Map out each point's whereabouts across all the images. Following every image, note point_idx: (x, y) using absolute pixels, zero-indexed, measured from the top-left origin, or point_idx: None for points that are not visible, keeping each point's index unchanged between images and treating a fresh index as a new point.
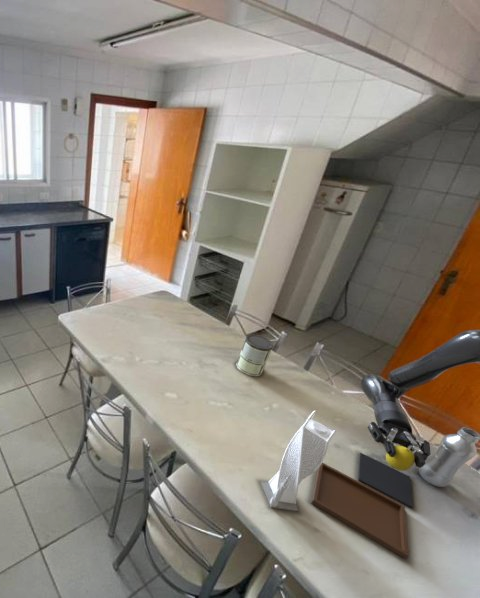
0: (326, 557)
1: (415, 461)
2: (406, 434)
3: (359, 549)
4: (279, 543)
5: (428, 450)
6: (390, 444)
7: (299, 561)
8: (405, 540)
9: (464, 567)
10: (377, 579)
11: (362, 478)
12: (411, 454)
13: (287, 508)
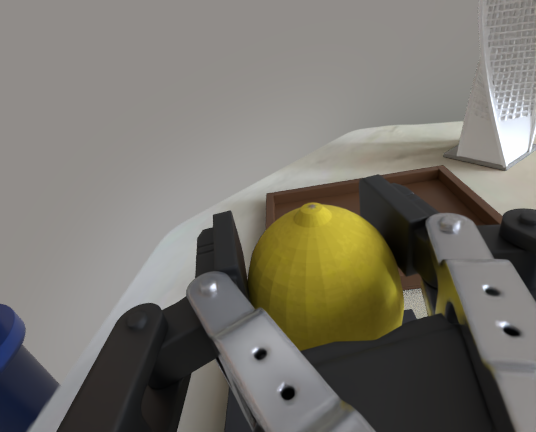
0: (368, 145)
1: (244, 268)
2: (358, 421)
3: (336, 174)
4: (422, 125)
5: (107, 367)
6: (416, 212)
7: (390, 128)
8: (269, 210)
9: (160, 260)
10: (305, 164)
11: (404, 321)
12: (278, 221)
13: (457, 145)
